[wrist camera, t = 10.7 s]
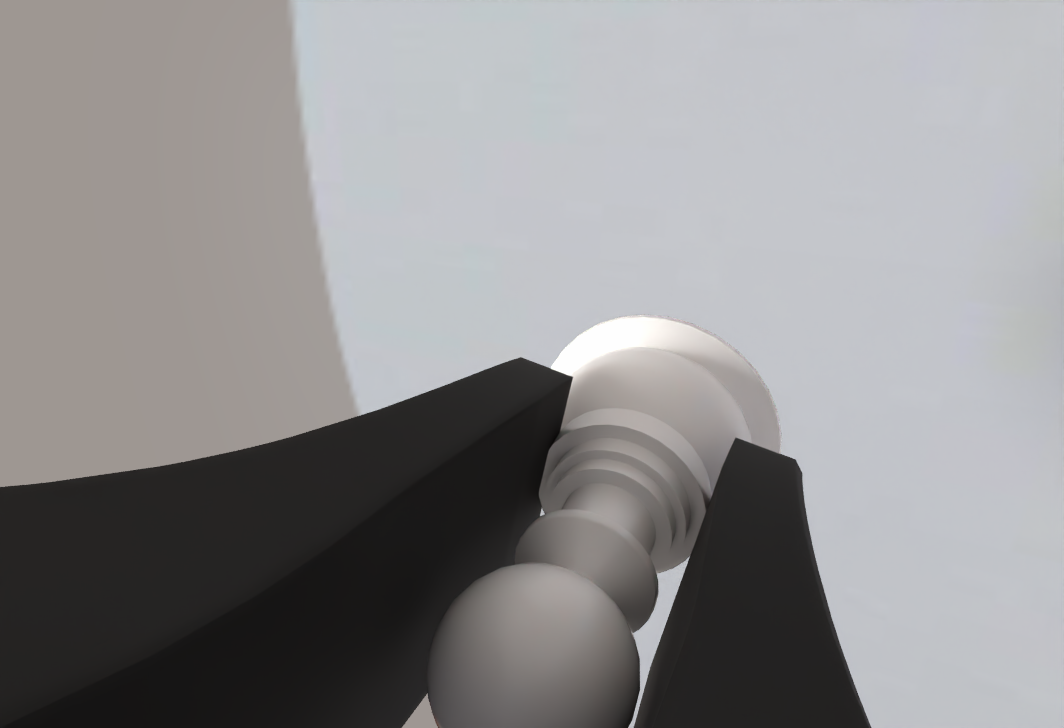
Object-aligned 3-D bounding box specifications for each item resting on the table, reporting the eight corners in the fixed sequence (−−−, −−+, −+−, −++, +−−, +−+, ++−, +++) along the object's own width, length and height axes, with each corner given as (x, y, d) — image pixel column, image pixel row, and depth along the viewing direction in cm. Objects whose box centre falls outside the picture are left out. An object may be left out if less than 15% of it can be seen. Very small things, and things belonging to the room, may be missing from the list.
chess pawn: (712, 270, 10) (535, 533, 6) (826, 489, 10) (740, 874, 6) (508, 359, 11) (249, 618, 7) (617, 546, 12) (433, 888, 8)
